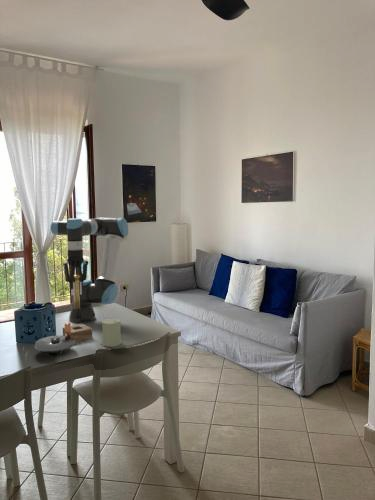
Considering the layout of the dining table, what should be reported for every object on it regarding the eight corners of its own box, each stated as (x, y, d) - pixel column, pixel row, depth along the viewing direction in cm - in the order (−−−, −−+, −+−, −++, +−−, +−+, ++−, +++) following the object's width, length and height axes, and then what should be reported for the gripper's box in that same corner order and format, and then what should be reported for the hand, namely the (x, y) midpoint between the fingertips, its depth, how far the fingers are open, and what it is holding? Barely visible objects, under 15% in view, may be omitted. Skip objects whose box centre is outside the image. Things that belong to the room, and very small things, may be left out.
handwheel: (49, 355, 178) (48, 336, 177) (27, 345, 189) (26, 328, 188) (83, 343, 192) (82, 326, 191) (60, 335, 203) (59, 319, 202)
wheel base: (46, 351, 191) (46, 345, 191) (59, 348, 195) (58, 342, 195) (52, 355, 187) (51, 348, 187) (64, 352, 191) (64, 345, 191)
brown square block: (62, 336, 212) (62, 327, 211) (82, 332, 219) (82, 323, 218) (72, 342, 204) (72, 332, 203) (92, 337, 211) (92, 328, 210)
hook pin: (71, 307, 210) (70, 275, 208) (78, 306, 213) (78, 274, 210) (74, 309, 206) (73, 276, 204) (82, 308, 209) (82, 275, 207)
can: (112, 347, 197) (111, 323, 195) (98, 344, 202) (97, 320, 200) (124, 342, 204) (124, 319, 203) (111, 339, 209) (110, 316, 208)
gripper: (63, 251, 198) (64, 298, 201) (93, 248, 208) (94, 293, 211) (56, 249, 203) (58, 295, 206) (86, 247, 214) (87, 291, 217)
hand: (76, 294), depth 209 cm, fingers closed on hook pin, 3 cm apart
